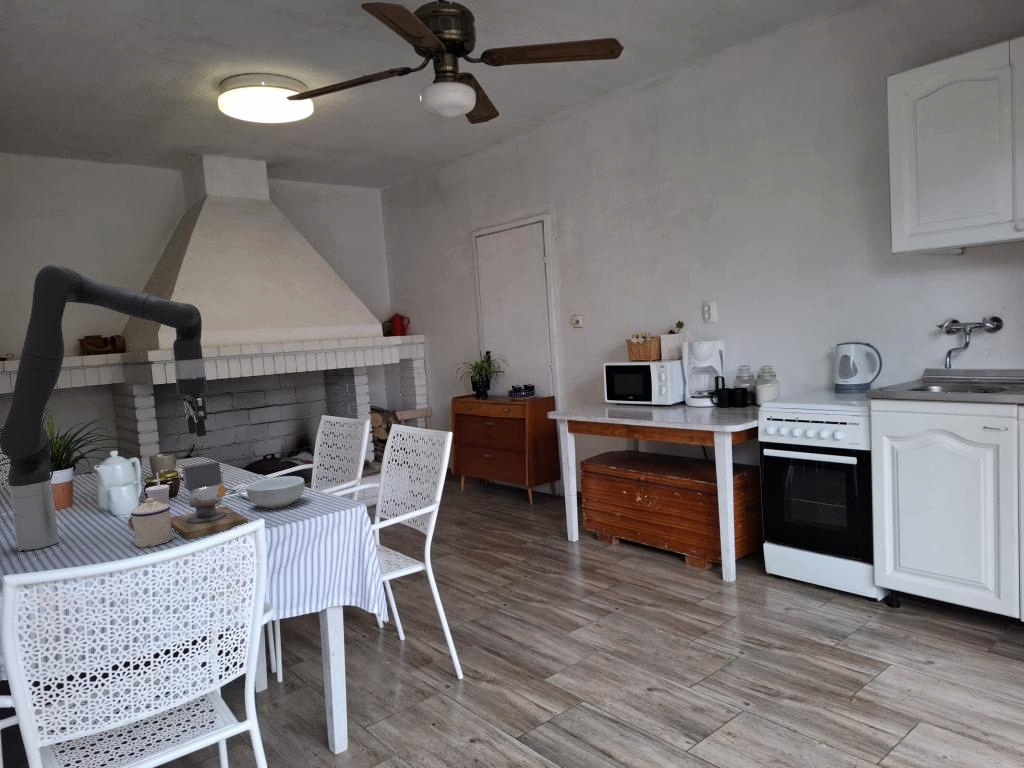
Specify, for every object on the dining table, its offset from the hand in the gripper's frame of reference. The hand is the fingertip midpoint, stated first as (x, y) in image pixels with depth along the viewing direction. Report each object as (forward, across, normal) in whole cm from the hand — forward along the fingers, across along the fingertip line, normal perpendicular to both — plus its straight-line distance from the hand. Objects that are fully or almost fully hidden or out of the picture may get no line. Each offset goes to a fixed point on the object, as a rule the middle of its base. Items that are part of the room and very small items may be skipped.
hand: (197, 434), depth 192 cm
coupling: (+19, 0, 0) cm, 19 cm away
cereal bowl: (+26, -6, +22) cm, 35 cm away
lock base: (+26, 0, 0) cm, 26 cm away
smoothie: (+26, -19, -8) cm, 33 cm away
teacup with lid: (+26, +4, -15) cm, 30 cm away
